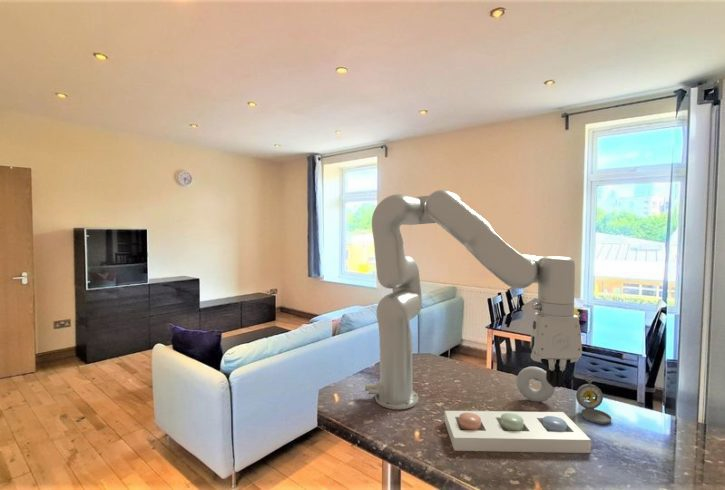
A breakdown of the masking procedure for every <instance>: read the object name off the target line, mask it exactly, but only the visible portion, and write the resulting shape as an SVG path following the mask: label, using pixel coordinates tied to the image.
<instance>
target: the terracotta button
mask: <svg viewBox="0 0 725 490" xmlns="http://www.w3.org/2000/svg"><path fill="white" fill-rule="evenodd" d="M459 426H460V427H461V428H462V429H461V430H471V431H480V429H481V418H480V417H479V416H478V415H476V414H473V413H462V414H460V416H459Z"/></svg>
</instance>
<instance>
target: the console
mask: <svg viewBox="0 0 725 490" xmlns="http://www.w3.org/2000/svg"><path fill="white" fill-rule="evenodd" d="M462 413H473V414H476V415H478V416H479V417H480V418H481V429H480V430H479V431H471V430H463V429H462V428H461V427H460V426H459V416H460V414H462ZM505 413H512V414H516V415H519V416H520V417H522V418H523V431H507V430H504V429H503V428H502V426H501V415H502V414H505ZM546 416H554V417H558V418H561V419H563V420H564V421H565V422H566V423H567V432H548V431H547V430H546V429H545V428H544V427H543V418H544V417H546ZM444 424H445V427H446V430H447V433H448V437H449V439H450V442H451V444H452V448H453V451H455V452H456V451H458V452H460V451H461V452H463V451H465V452H468V451H469V452H508V453H509V452H515V453H517V452H518V453H522V452H523V453H568V454H569V453H572V454H579V453H580V454H585V453H586V454H591V453H592V452H591V451H592V450H591V449H592V447H591V446H592V445H591V444H592V440H591V438H590V437H588V436H587V434H586V433H585V432H584V431H583V430H582V429H581V428H580V427H578V425H576V423H575V422H574V421H573V420H572V419H571V418H570V417H569V416H568V415H567V414H566V413H565V412H564V411H505V410H504V411H503V410H502V411H501V410H500V411H498V410H495V411H494V410H493V411H491V410H489V411H488V410H444Z"/></svg>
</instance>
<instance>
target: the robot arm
mask: <svg viewBox="0 0 725 490" xmlns="http://www.w3.org/2000/svg"><path fill="white" fill-rule="evenodd" d="M427 224H437V225H439V226H440V227H441V228H442V229H444V230H445V231H446V232H447V233H448V234H450V235H451V236H452V237H453V238H454V239H455V240H456V241H458V242H459V243H460V244H462V245H463V247H464V248H465V249H466V250H467V251H468V252H469V253H470V254H471V255H473V256H474V258H475V259H476V260H477V261H478V262H479V263H480V264H481V265H482V266H483V267H485V269H487V270H488V271H489V272H490V273H491V274H493V275H494V276H495V277H496V278H498V279H499V280H500V281H501V282H502V283H504V284H505V285H507V286H508V287H510V288H513V289H516V290H522V289H526V288H528V287H530V286H531V285H532V284H538V285H537V286H538V287H537V291H538V292H537V300H536V302H535V303H532V305H531V308H532V310H536V312H535V313H534V316H533V321H532V326H531V333H530V350H531V353H530V359H531V360H532V361H534V362H537V363H542V365H544V366H545V368H546V369H545V371H546V380H547V381H548V383H549V384H550V385H551V386H552V387H555V388H562V383H563V372H564V371H565V370H566V367H568V365H569V364H571V363H576V362H579V360H580V358H581V357H582V353H583V345H582V342H583V341H582V330H581V325H580V320H579V316H578V315H576V314H575V283H576V282H575V278H576V262H575V260H574V259H573V258H571V257H568V256H563V255H562V256H561V255H559V256H558V255H557V256H556V255H554V256H553V255H549V256H548V255H546V256H538V255H537V256H536V255H531V254H527V253H526V254H524V253H520V252H519V251H517V250H516V249H515V248H513V247H512V246H511V245H509V243H507V242H506V241H505V240H504V239H502V238H501V237H500V236H499V235H498V234H497V233H496V232H495V231H494V229H493V227H492V226H491V223H490V222H488V220H486V219H485V218H484V217H483V216H481V215H480V214H478V213H477V212H476V211H475V210H474V209H472V208H471V207H470V206H468V205H467V204H466V203H465V202H463V200H462V198H461V197H460V196H459V194H456V193H455V192H452V191H449V190H445V189H438V190H435V191H433V192H431V193H430V194H429V195H420V196H410V195H407V194H397V193H396V194H391V195H388V196H387V197H385V198H384V199H382V200H381V201H379V202H378V204H377V205H376V207H375V209H374V211H373V213H372V216H371V230H372V238H373V244H374V245H373V247H374V257H375V268H376V277H377V281H378V283H379V284H380V285H381V286H382V287H383V288H386V289H392V292H390V293H388V294H386V295H384V296H383V297H382V298H381V299H380V300H379V302H378V303H377V307H376V319H377V325H378V332H379V334H378V336H379V380H378V383H377V382H376V383H375V384H370V383H369V384H368V383H366V384H364V386H365V387H364V391H365V392H368V394H369V395H374V400H375V402H376V403H377V404H378V405H380V406H381V407H383V408H386V409H390V410H405V409H406V410H407V409H410V408H413V407H414V406H416V405H417V404H418V402H419V395H418V393H417V392H416V391H415V390H413V337H412V331H411V325H410V321H411V320H412V319H414V318H415V317H416V316H418V315H419V313H420V312H421V310H422V306H423V299H422V298H423V296H422V289H421V279H420V270H419V267H418V266H419V265H418V264H417V262H416V261H415V259H414V258H413V257H411V256H410V255H408V254H406V253H405V249H404V241H403V239H404V238H403V236H402V233H401V229H400V227H401V226H403V225H406V226H410V225H411V226H413V225H427Z"/></svg>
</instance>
